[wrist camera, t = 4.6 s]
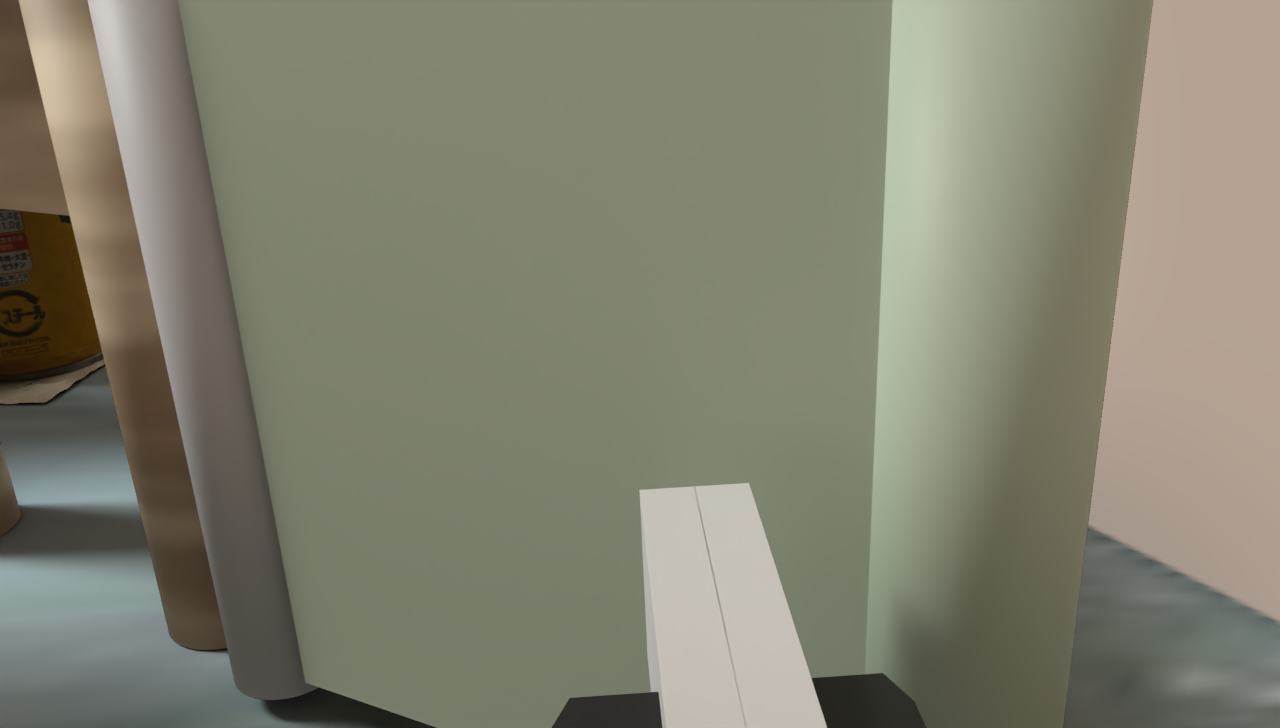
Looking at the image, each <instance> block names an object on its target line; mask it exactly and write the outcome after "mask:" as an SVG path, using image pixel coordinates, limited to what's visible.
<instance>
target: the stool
mask: <svg viewBox="0 0 1280 728" xmlns="http://www.w3.org/2000/svg"><path fill="white" fill-rule="evenodd" d="M0 209H9V210H19V211H29V212H38V213H48V214H57V215H67V216H70V219H71V223H72V227H73V231H74V235H75V240H76V244H77V248H78V252H79V256H80V261H81V265H82V269H83V273H84V277H85V282H86V286H87V290H88V294H89V298H90V303H91V307H92V311H93V315H94V319H95V324H96V328H97V332H98V336H99V340H100V345H101V349H102V353H103V357H104V361H105V366H106V370H107V374H108V378H109V382H110V387H111V391H112V395H113V399H114V403H115V408H116V412H117V416H118V420H119V424H120V429H121V433H122V437H123V441H124V445H125V450H126V454H127V458H128V462H129V466H130V471H131V475H132V479H133V483H134V487H135V492H136V496H137V500H138V504H139V509H140V513H141V517H142V521H143V525H144V530H145V534H146V538H147V542H148V546H149V551H150V555H151V559H152V563H153V567H154V572H155V576H156V580H157V584H158V588H159V593H160V597H161V601H162V605H163V609H164V614H165V618H166V622H167V626H168V630H169V634H170V636H171V638H172V639H173V640H174V641H175V642H176V643H178V644H179V645H182V646H184V647H187V648H191V649H197V650H217V649H225V648H227V644H226V639H225V635H224V630H223V625H222V621H221V616H220V612H219V607H218V602H217V598H216V593H215V588H214V584H213V579H212V574H211V570H210V565H209V561H208V556H207V551H206V547H205V542H204V537H203V533H202V528H201V524H200V519H199V514H198V510H197V505H196V500H195V496H194V491H193V487H192V482H191V477H190V473H189V468H188V463H187V459H186V454H185V449H184V445H183V440H182V436H181V431H180V426H179V422H178V417H177V412H176V408H175V403H174V399H173V394H172V389H171V385H170V380H169V375H168V371H167V366H166V362H165V357H164V352H163V348H162V343H161V338H160V334H159V329H158V325H157V320H156V315H155V311H154V306H153V301H152V297H151V292H150V287H149V283H148V278H147V274H146V269H145V264H144V260H143V255H142V250H141V246H140V241H139V237H138V232H137V227H136V223H135V218H134V213H133V209H132V204H131V200H130V195H129V190H128V186H127V181H126V176H125V172H124V167H123V162H122V158H121V153H120V149H119V144H118V139H117V135H116V130H115V125H114V121H113V116H112V112H111V107H110V102H109V98H108V93H107V88H106V84H105V79H104V75H103V70H102V65H101V61H100V56H99V51H98V47H97V42H96V38H95V33H94V28H93V24H92V19H91V14H90V10H89V5H88V0H0ZM20 516H21V514H20V510H19V506H18V503H17V499H16V496H15V492H14V489H13V485H12V482H11V478H10V475H9V471H8V467H7V464H6V460H5V457H4V453H3V450H2V446H1V443H0V536H1V535H2V534H4V533H6V532H7V531H9V530H10V529H11V528H12V527H14V526H15V525H16V523H17V522H18V521H19V519H20Z"/></svg>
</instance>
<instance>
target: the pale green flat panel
mask: <svg viewBox="0 0 1280 728" xmlns="http://www.w3.org/2000/svg"><path fill="white" fill-rule="evenodd" d="M88 5H89V10H90V14H91V19H92V24H93V28H94V33H95V38H96V42H97V47H98V51H99V56H100V61H101V65H102V70H103V75H104V79H105V84H106V88H107V93H108V98H109V102H110V107H111V112H112V116H113V121H114V125H115V130H116V135H117V139H118V144H119V149H120V153H121V158H122V162H123V167H124V172H125V176H126V181H127V186H128V190H129V195H130V200H131V204H132V209H133V213H134V218H135V223H136V227H137V232H138V237H139V241H140V246H141V250H142V255H143V260H144V264H145V269H146V274H147V278H148V283H149V287H150V292H151V297H152V301H153V306H154V311H155V315H156V320H157V325H158V329H159V334H160V338H161V343H162V348H163V352H164V357H165V362H166V366H167V371H168V375H169V380H170V385H171V389H172V394H173V399H174V403H175V408H176V412H177V417H178V422H179V426H180V431H181V436H182V440H183V445H184V449H185V454H186V459H187V463H188V468H189V473H190V477H191V482H192V487H193V491H194V496H195V500H196V505H197V510H198V514H199V519H200V524H201V528H202V533H203V537H204V542H205V547H206V551H207V556H208V561H209V565H210V570H211V574H212V579H213V584H214V588H215V593H216V598H217V602H218V607H219V612H220V616H221V621H222V625H223V630H224V635H225V639H226V644H227V649H228V653H229V658H230V662H231V667H232V672H233V676H234V681H235V684H236V686H237V688H238V689H239V690H240V691H241V692H242V693H243V694H245V695H247V696H249V697H252V698H255V699H261V700H281V699H288V698H293V697H296V696H300V695H303V694H306V693H308V692H311V691H313V690H315V689H317V688H319V687H320V688H322V689H325V690H328V691H331V692H334V693H337V694H340V695H343V696H346V697H349V698H352V699H355V700H358V701H360V702H363V703H366V704H369V705H372V706H375V707H378V708H381V709H384V710H387V711H390V712H393V713H395V714H398V715H401V716H404V717H407V718H410V719H413V720H416V721H419V722H422V723H425V724H428V725H430V726H433V727H436V728H552V726H553V725H554V723H555V721H556V720H557V718H558V716H559V715H560V713H561V711H562V710H563V708H564V706H565V705H566V703H567V701H568V700H569V698H576V697H590V696H604V695H619V694H633V693H647V692H651V687H650V677H649V666H648V655H647V634H646V614H645V593H644V573H643V552H642V531H641V511H640V490H645V489H661V488H677V487H693V486H708V485H724V484H740V483H749V485H750V488H751V491H752V494H753V497H754V500H755V504H756V507H757V510H758V513H759V516H760V519H761V522H762V525H763V529H764V532H765V535H766V538H767V541H768V544H769V547H770V550H771V554H772V557H773V560H774V563H775V566H776V569H777V572H778V576H779V579H780V582H781V585H782V588H783V591H784V594H785V597H786V601H787V604H788V607H789V610H790V613H791V616H792V619H793V622H794V626H795V629H796V632H797V635H798V638H799V641H800V644H801V647H802V651H803V654H804V657H805V660H806V663H807V666H808V669H809V673H810V676H811V678H819V677H833V676H848V675H862V674H876V673H884V674H885V675H886V676H887V677H888V678H889V679H890V680H891V681H892V682H894V683H895V684H896V685H897V686H898V687H899V688H900V689H901V690H902V691H904V692H905V693H906V694H907V695H908V696H909V697H910V698H911V699H912V700H913V701H915V703H916V705H917V708H918V710H919V712H920V714H921V717H922V719H923V721H924V723H925V726H926V728H1063V723H1064V714H1065V706H1066V698H1067V690H1068V682H1069V674H1070V666H1071V658H1072V650H1073V642H1074V634H1075V626H1076V618H1077V610H1078V602H1079V594H1080V586H1081V578H1082V570H1083V562H1084V554H1085V546H1086V537H1087V529H1088V521H1089V513H1090V505H1091V497H1092V489H1093V481H1094V473H1095V465H1096V456H1097V449H1098V441H1099V433H1100V425H1101V417H1102V409H1103V401H1104V393H1105V384H1106V377H1107V369H1108V361H1109V352H1110V344H1111V336H1112V328H1113V320H1114V312H1115V304H1116V296H1117V288H1118V280H1119V271H1120V264H1121V256H1122V248H1123V240H1124V231H1125V224H1126V215H1127V207H1128V200H1129V192H1130V184H1131V175H1132V166H1133V158H1134V151H1135V143H1136V135H1137V127H1138V119H1139V111H1140V103H1141V95H1142V87H1143V79H1144V71H1145V63H1146V54H1147V47H1148V39H1149V31H1150V22H1151V13H1152V6H1153V0H88Z"/></svg>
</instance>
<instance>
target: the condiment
mask: <svg viewBox="0 0 1280 728" xmlns="http://www.w3.org/2000/svg"><path fill="white" fill-rule="evenodd" d="M103 365H105V361H104V357H103V353H102V349H101V345H100V340H99V336H98V332H97V328H96V324H95V319H94V315H93V311H92V307H91V303H90V298H89V294H88V290H87V286H86V282H85V277H84V273H83V269H82V265H81V261H80V256H79V252H78V248H77V244H76V240H75V235H74V231H73V227H72V223H71V219H70V216H67V215H57V214H48V213H38V212H29V211H19V210H9V209H0V403H2V404H17V403H30V402H35V403H45V402H47V401H48V400H50V399H52V398H53V397H54V396H55V395H56V394H58V393H59V392H61V391H63V390H66V389H67V388H69V387H70V386H71V385H72V384H73V383H74V382H75V381H77V380H80V379H82V378H83V377H85V376H87V375H88V373H90V372H91V371H94V370H96V369H97V368H98V367H101V366H103ZM38 381H40V383H34V382H38ZM41 381H42V382H41ZM32 383H34V384H32ZM28 384H30V385H28ZM24 385H27V386H25V387H21V386H24Z"/></svg>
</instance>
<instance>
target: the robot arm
mask: <svg viewBox="0 0 1280 728" xmlns="http://www.w3.org/2000/svg"><path fill="white" fill-rule="evenodd" d="M640 511H641V531H642V552H643V573H644V593H645V614H646V634H647V655H648V666H649V677H650V687H651V692H647V693H633V694H619V695H604V696H590V697H576V698H569V700H568V701H567V703H566V705H565V706H564V708H563V710H562V711H561V713H560V715H559V716H558V718H557V720H556V721H555V723H554V725H553V726H552V728H926V726H925V723H924V721H923V719H922V717H921V714H920V712H919V710H918V708H917V705H916V703H915V701H913V700H912V699H911V698H910V697H909V696H908V695H907V694H906V693H905V692H904V691H902V690H901V689H900V688H899V687H898V686H897V685H896V684H895V683H894V682H892V681H891V680H890V679H889V678H888V677H887V676H886V675H885V674H884V673H876V674H862V675H848V676H833V677H819V678H811V676H810V673H809V669H808V666H807V663H806V660H805V657H804V654H803V651H802V647H801V644H800V641H799V638H798V635H797V632H796V629H795V626H794V622H793V619H792V616H791V613H790V610H789V607H788V604H787V601H786V597H785V594H784V591H783V588H782V585H781V582H780V579H779V576H778V572H777V569H776V566H775V563H774V560H773V557H772V554H771V550H770V547H769V544H768V541H767V538H766V535H765V532H764V529H763V525H762V522H761V519H760V516H759V513H758V510H757V507H756V504H755V500H754V497H753V494H752V491H751V488H750V485H749V483H740V484H724V485H708V486H693V487H677V488H661V489H645V490H640Z"/></svg>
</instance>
